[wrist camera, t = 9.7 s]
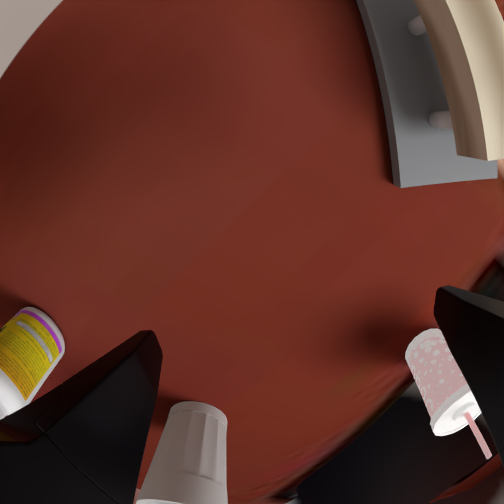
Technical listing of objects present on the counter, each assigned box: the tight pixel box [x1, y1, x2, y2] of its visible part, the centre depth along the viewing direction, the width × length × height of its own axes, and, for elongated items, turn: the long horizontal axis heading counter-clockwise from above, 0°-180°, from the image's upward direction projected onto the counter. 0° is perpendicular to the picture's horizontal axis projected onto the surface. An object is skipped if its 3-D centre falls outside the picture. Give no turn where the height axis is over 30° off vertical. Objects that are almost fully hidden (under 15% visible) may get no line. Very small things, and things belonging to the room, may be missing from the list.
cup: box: [136, 401, 227, 504], centre depth 22 cm, size 8×8×12 cm
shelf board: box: [414, 0, 504, 161], centre depth 10 cm, size 5×11×3 cm, turn 15°
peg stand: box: [356, 0, 497, 188], centre depth 14 cm, size 16×10×4 cm, turn 11°
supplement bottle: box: [0, 307, 65, 420], centre depth 18 cm, size 7×7×13 cm
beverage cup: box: [405, 329, 492, 459], centre depth 18 cm, size 6×6×14 cm
